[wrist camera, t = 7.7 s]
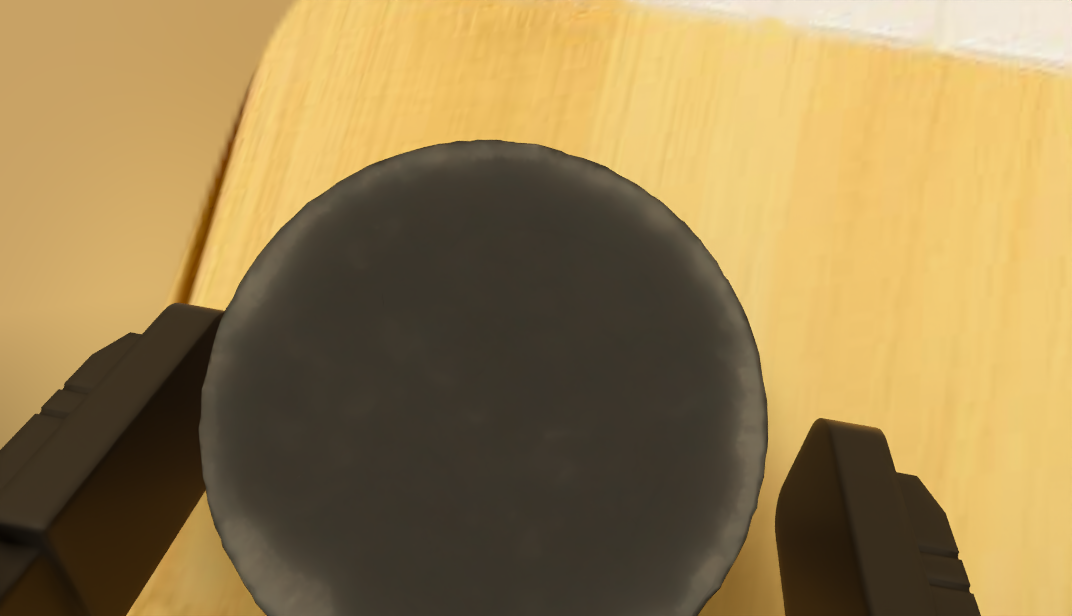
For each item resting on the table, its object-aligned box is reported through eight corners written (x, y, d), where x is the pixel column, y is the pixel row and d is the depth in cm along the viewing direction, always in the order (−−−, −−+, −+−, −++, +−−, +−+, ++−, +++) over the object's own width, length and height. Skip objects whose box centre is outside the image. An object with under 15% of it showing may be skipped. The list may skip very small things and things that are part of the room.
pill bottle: (404, 540, 16) (77, 827, 6) (402, 275, 17) (112, 69, 6) (676, 535, 16) (898, 825, 5) (663, 266, 17) (833, 34, 6)
